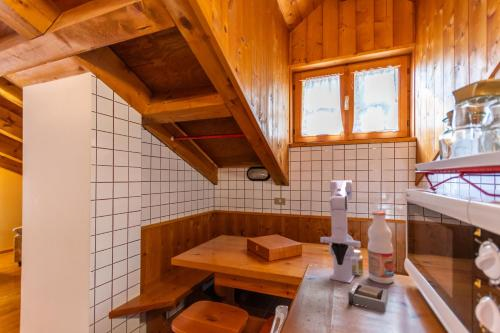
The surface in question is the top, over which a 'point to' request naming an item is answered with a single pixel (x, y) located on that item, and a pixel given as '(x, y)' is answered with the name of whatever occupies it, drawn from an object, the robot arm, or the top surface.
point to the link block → (369, 292)
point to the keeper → (352, 292)
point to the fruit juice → (380, 250)
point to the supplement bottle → (357, 263)
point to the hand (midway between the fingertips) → (340, 264)
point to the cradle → (372, 300)
